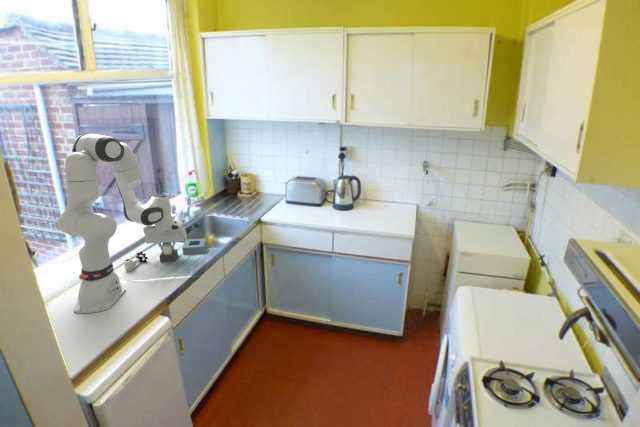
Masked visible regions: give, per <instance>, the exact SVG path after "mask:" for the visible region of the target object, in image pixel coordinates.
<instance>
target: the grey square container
mask: <svg viewBox="0 0 640 427" xmlns="http://www.w3.org/2000/svg"><path fill="white" fill-rule="evenodd" d="M178 256H179V253H178V248H174V249H173V255H164V251H163V250H161V252H160V254H159V260H160V261H159V262H160V263H168V262H169V263H171V262H176V261H177V258H178Z"/></svg>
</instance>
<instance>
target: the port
mask: <svg viewBox="0 0 640 427" xmlns="http://www.w3.org/2000/svg"><path fill="white" fill-rule="evenodd" d="M207 245H208V244H207V238H206V237H204V238H190V239H188V238H187V239H186V240H185V241H184V243H183V246H182V247H181V248H182V255H183V256H185V255H199V254H201V255H202V254H205V253H206V248H207Z"/></svg>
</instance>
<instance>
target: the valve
mask: <svg viewBox="0 0 640 427" xmlns="http://www.w3.org/2000/svg"><path fill="white" fill-rule="evenodd" d="M148 259H149V257H148V256H147V254H146V253H145V252H144V253H143V252H142V251H140V252H137V253H136V256H135V259H132V258H125V259H124V260H123V264H124V269H125V271H126V272H133V271H134V270H135V268H134V267H136V266H137V264H138V263H143V262H144V263H147V262H148Z"/></svg>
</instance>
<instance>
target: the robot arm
mask: <svg viewBox="0 0 640 427" xmlns="http://www.w3.org/2000/svg"><path fill="white" fill-rule="evenodd" d="M65 157H66V158H65V161H64V162H65V166H64V174H65V184H66V193H67V202H66V206H65V209H64V211H63V212H62V213H61V214H60V215H59V216H58V219H57V226H58V229H59V230H60V231H61V232H63V233H65V234H67V235H69V236H74V237H81V238H82V239H83V240H84V246H82V247H81V248H80V250H79V252H78V257H79V260H80V265H81V271H80V273H81V274H79V278H78V279H79V280H81V282H80V287H79V291H78V295H77V300H76V303H75V306H74V309H73V312H74V313H77V314H92V313H99V312H103V311H107V310H109V309H111V307H112V306H113V305H114V304H115V303H116V302H117V301H118V300H119V298H121V297H122V295H123V294H125V292H126V288H124V287H122V284H121V280H120V277H119V275H118V274H117V273H116V272H115V271H114V264H113V262H112V260H111V258H110V257H111V256H110V253H109V252H110V250H109V242H110V239H111V238H112V237H113V236H114V235H115V233H116V232H117V229H118V228H117V227H118V226H117V221H116V220H115V218H114V217H112V216H110V215H108V214H104V213H101V212H100V213H99V212H93V211H92V208H93V204H94V203H95V202H96V201H97V200H98V199H99V196H100V191H99V183H98V175H97V165H98V163H99V162H105V163H108V164H109V166H110V167H111V170H112V172H113V175H114V177H115V181H116V186H117V189H118V192H119V195H120V198H121V201H122V204H123V215H124V218H125V219H126V220H127V221H129V222H131V223H136V224H139V225H143V226H144V227H143V228H142V230H143V233H144V242H145V243H146V244H157V245H158V247H159V248H160V250H161V251H162V250H163V245H162V244H163V243H165V242H171V244H172V245H171V250H173V249H175V245H176V243H179V242H185V240H187V239H188V238H187V236H188V235H187V230H186V228H185V226H183V225H184V224H183V221H182V220H177V219H174V218H173V216H172V206H171V202H170V199H169V197H168V196H167V195H165V194H152V195H151V198H150V199H149V200H148V201H147V202H146V203H145V204H143V203H141V202H140V201H139V200H138V199H137V195H136V193H135V190H134V185H135V184H136V183H138V182H139V181H140V180H141V178H142V171H141V167H140V164H139V162H138V159H137V157H136V155H135V154H134V151H133V150H132V148H131V147H130V145H129V144H128V143H125V142H120V141H119V140H118V139H117V138H115V137H112V136H109V135H102V134H99V133H82V134H80V135H79V136H77V137H76V138H75V139H74V141H73V146H72V151H71V153H70V154H68V155H66V156H65Z"/></svg>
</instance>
